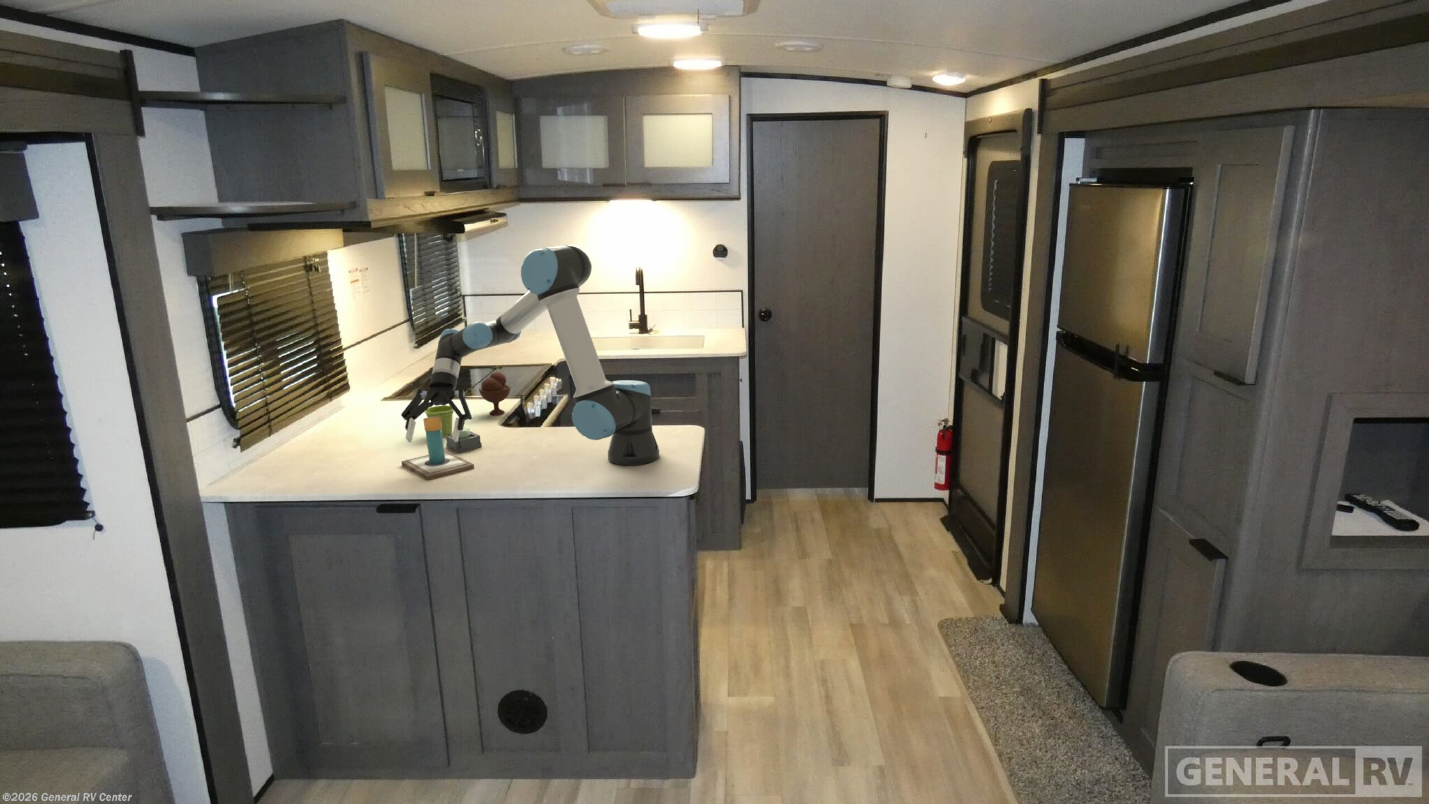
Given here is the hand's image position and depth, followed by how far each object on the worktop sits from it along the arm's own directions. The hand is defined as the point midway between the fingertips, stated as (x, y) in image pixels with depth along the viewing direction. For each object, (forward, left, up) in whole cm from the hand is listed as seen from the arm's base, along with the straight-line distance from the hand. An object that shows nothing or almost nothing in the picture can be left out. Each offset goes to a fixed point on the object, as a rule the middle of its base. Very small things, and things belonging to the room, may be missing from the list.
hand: (431, 440), depth 244 cm
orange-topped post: (+1, -2, -7) cm, 8 cm away
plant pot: (+32, -17, -9) cm, 37 cm away
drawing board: (+2, -2, -9) cm, 9 cm away
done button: (+14, -16, -6) cm, 22 cm away
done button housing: (+14, -16, -9) cm, 22 cm away
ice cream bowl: (+42, -42, -9) cm, 59 cm away
